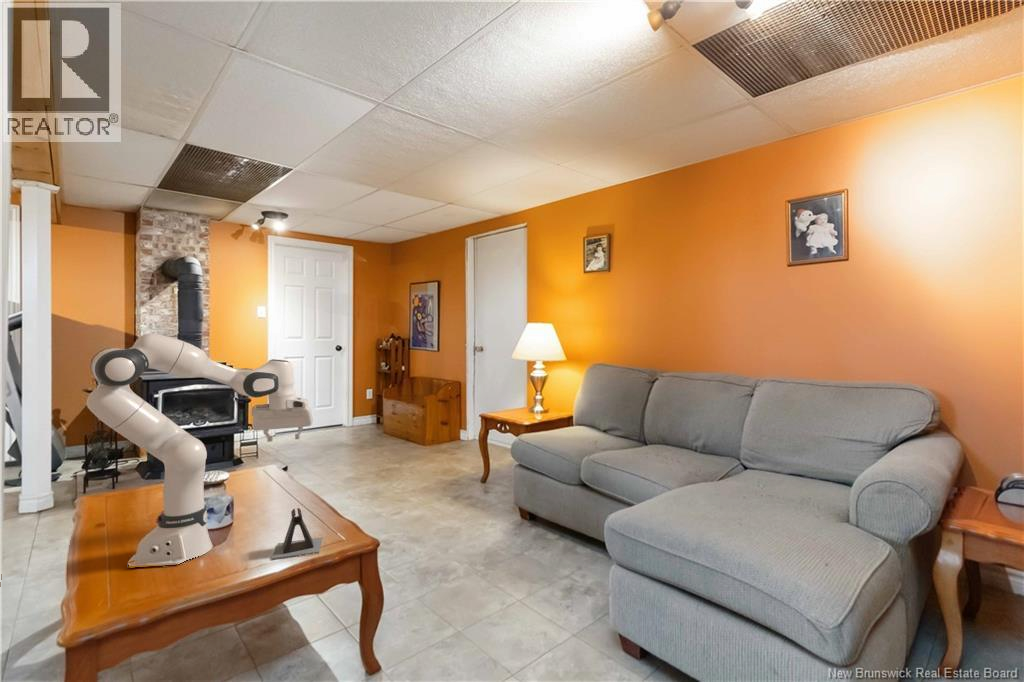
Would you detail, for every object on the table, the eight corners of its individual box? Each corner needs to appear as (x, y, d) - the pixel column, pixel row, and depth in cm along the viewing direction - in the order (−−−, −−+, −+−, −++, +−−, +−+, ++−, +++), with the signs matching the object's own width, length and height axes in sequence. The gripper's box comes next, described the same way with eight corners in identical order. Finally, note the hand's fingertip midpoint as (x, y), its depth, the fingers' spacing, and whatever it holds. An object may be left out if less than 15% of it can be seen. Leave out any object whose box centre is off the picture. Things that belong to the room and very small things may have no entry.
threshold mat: (271, 560, 153) (271, 558, 153) (278, 544, 164) (277, 543, 164) (319, 553, 157) (318, 551, 157) (322, 538, 168) (322, 537, 168)
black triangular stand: (283, 554, 156) (281, 517, 156) (282, 546, 161) (281, 510, 161) (313, 547, 160) (311, 511, 159) (312, 540, 165) (310, 505, 165)
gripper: (248, 406, 174) (250, 444, 175) (310, 402, 180) (312, 439, 181) (253, 403, 181) (254, 440, 181) (312, 399, 186) (314, 435, 187)
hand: (283, 440), depth 181 cm, fingers open, 8 cm apart
